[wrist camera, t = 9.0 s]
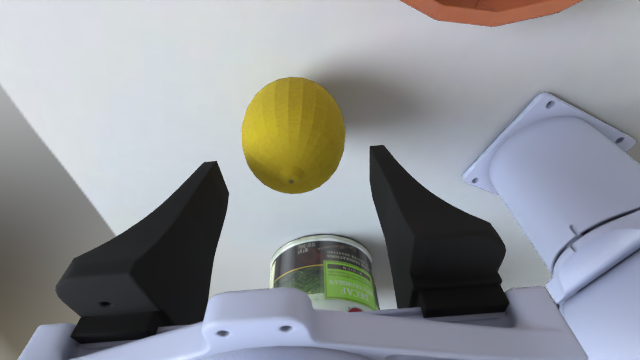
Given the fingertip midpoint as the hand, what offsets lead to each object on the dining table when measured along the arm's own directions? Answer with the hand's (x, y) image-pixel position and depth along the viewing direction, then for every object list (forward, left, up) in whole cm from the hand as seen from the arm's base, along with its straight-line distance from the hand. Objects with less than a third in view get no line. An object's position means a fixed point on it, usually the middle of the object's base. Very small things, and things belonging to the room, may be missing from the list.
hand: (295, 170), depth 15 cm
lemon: (0, 0, -7) cm, 7 cm away
